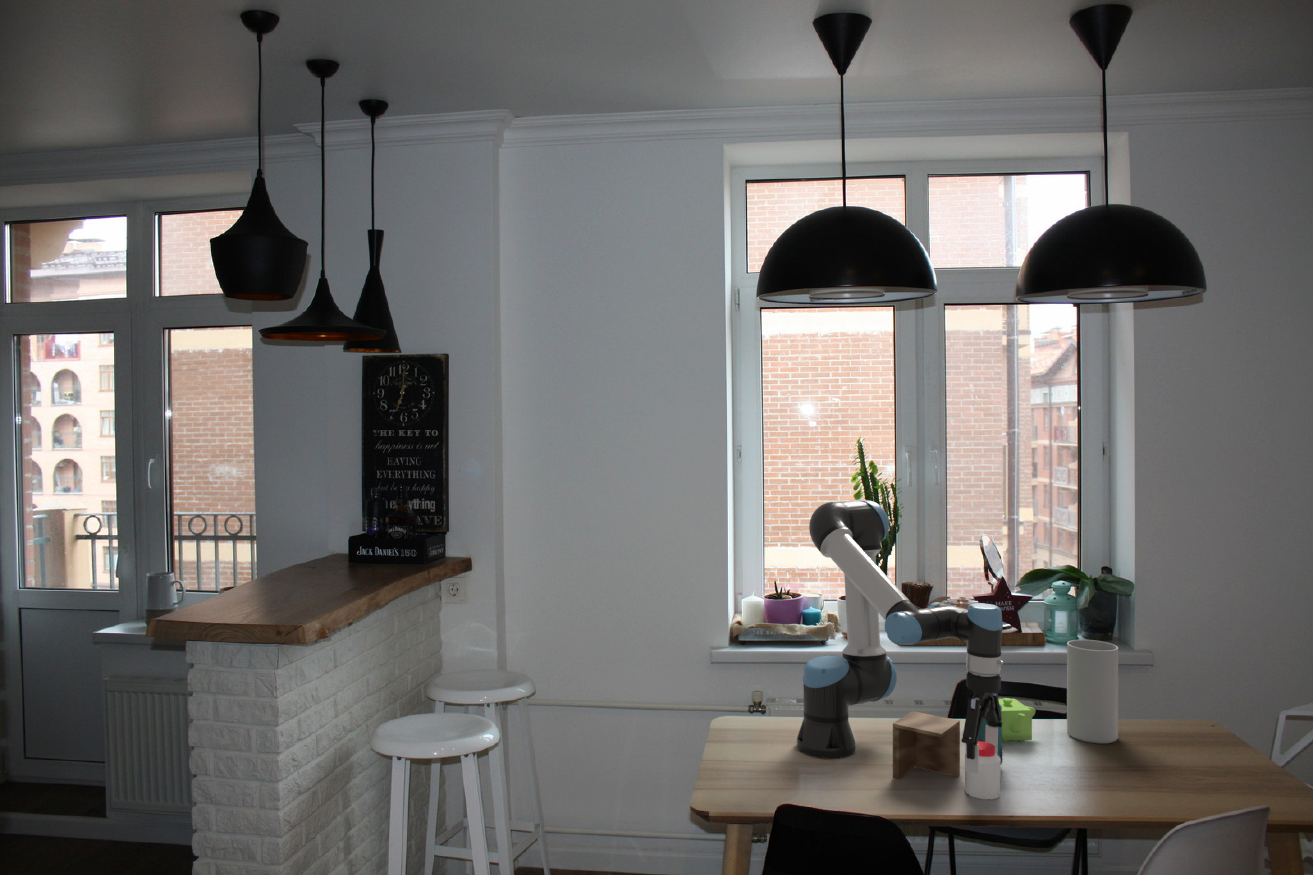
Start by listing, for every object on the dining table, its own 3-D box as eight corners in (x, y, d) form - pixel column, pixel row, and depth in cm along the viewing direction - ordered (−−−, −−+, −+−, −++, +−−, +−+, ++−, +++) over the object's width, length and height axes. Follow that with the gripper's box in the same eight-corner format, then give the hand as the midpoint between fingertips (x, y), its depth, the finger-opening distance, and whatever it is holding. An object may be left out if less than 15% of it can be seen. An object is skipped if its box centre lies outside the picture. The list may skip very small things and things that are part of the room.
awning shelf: (892, 778, 214) (892, 723, 214) (912, 763, 223) (912, 711, 223) (941, 791, 207) (941, 734, 206) (959, 775, 216) (959, 720, 216)
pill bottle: (959, 786, 209) (959, 740, 209) (990, 785, 210) (991, 739, 210) (974, 800, 201) (974, 752, 201) (1006, 799, 202) (1006, 750, 202)
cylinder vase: (1060, 727, 250) (1061, 639, 249) (1108, 729, 248) (1108, 640, 248) (1075, 743, 237) (1075, 650, 237) (1125, 745, 236) (1125, 651, 235)
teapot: (1024, 751, 232) (1024, 710, 232) (973, 740, 240) (973, 701, 240) (1041, 735, 244) (1041, 696, 244) (991, 725, 252) (991, 688, 252)
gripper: (982, 688, 193) (980, 784, 194) (1016, 663, 213) (1014, 750, 213) (948, 681, 198) (946, 775, 198) (984, 657, 217) (983, 743, 218)
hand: (981, 762), depth 206 cm, fingers open, 13 cm apart
